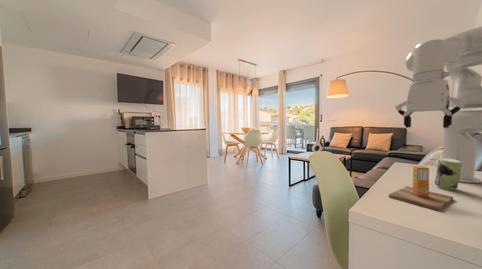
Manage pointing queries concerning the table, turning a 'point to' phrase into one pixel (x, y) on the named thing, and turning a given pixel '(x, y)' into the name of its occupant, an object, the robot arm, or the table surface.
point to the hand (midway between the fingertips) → (425, 127)
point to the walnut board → (422, 198)
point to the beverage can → (448, 173)
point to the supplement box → (421, 181)
